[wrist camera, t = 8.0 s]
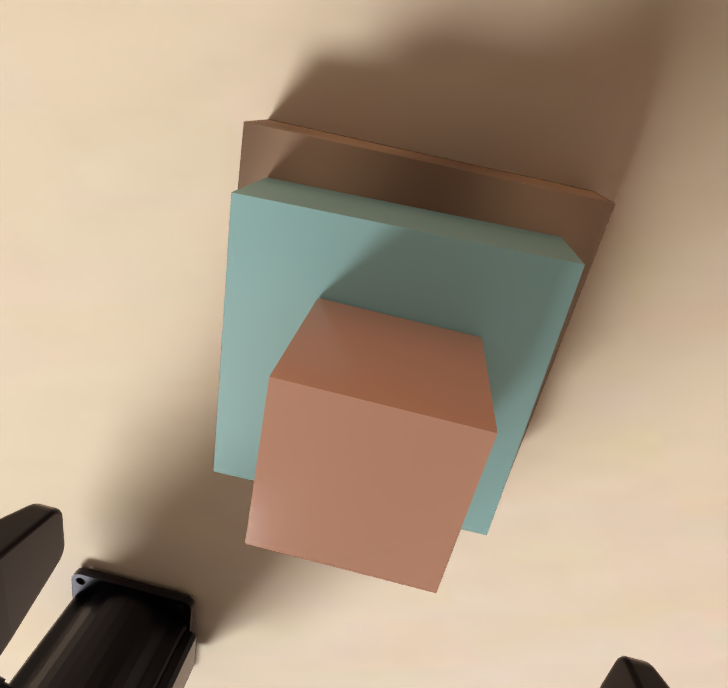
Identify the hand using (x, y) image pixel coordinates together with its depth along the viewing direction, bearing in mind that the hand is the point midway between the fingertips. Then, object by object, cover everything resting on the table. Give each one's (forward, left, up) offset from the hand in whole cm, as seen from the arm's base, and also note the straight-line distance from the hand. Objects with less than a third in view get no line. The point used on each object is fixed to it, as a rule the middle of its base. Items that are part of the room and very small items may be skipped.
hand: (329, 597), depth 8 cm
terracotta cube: (0, 0, -8) cm, 8 cm away
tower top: (0, 0, -11) cm, 11 cm away
